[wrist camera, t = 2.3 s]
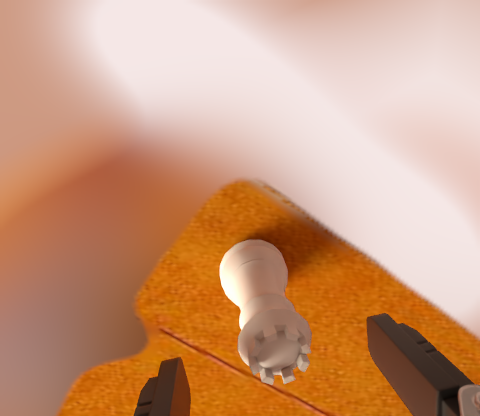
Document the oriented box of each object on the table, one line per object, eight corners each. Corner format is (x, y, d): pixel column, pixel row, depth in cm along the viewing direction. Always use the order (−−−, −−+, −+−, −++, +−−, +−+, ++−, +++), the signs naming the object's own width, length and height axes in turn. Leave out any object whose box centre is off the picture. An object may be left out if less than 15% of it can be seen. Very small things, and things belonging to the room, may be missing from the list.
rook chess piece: (244, 224, 18) (270, 289, 10) (296, 258, 19) (356, 342, 11) (206, 276, 18) (201, 376, 11) (258, 306, 19) (289, 419, 12)
